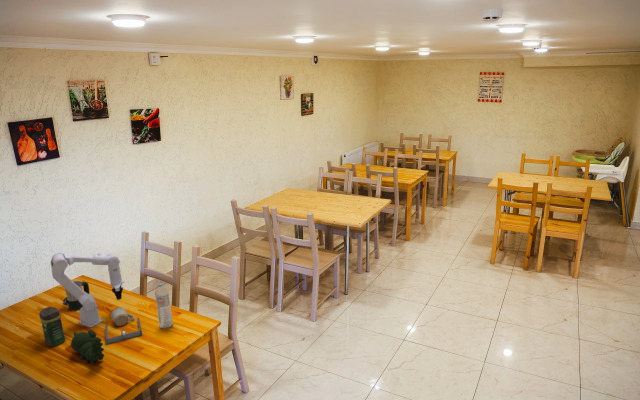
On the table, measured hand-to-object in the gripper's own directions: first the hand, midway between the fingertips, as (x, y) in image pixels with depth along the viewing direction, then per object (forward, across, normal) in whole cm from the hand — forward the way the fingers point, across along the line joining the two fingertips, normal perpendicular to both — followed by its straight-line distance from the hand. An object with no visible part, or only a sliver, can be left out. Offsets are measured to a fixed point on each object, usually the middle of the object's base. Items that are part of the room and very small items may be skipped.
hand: (119, 297), depth 245 cm
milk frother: (+10, +24, +25) cm, 36 cm away
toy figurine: (+10, -36, +17) cm, 41 cm away
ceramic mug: (+11, -10, 0) cm, 15 cm away
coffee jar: (+10, -13, +32) cm, 36 cm away
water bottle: (+11, -26, -21) cm, 35 cm away
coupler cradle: (+10, -21, 0) cm, 24 cm away
